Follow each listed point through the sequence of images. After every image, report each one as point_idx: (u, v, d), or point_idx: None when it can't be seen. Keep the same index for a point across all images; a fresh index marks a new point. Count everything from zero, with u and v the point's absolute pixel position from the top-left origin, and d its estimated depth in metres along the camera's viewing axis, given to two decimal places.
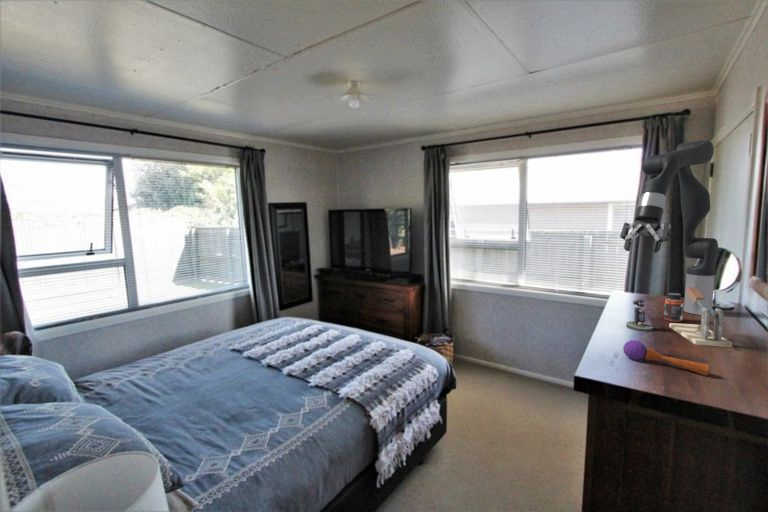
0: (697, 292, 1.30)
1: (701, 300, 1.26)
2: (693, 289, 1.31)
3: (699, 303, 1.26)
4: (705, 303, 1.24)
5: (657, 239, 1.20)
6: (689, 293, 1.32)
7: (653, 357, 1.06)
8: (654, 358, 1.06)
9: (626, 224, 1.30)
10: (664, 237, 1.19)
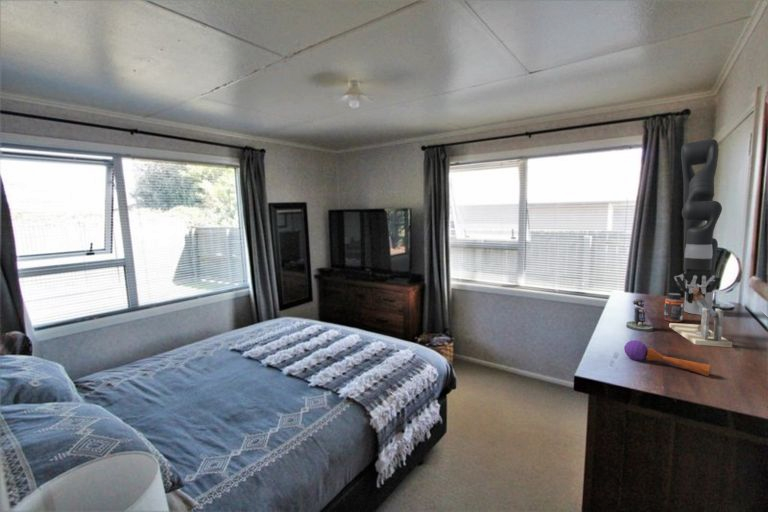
0: (697, 292, 1.30)
1: (701, 300, 1.26)
2: (693, 289, 1.31)
3: (699, 303, 1.26)
4: (705, 303, 1.24)
5: (704, 292, 1.28)
6: None
7: (654, 358, 1.05)
8: (655, 358, 1.05)
9: (679, 278, 1.30)
10: (710, 290, 1.28)
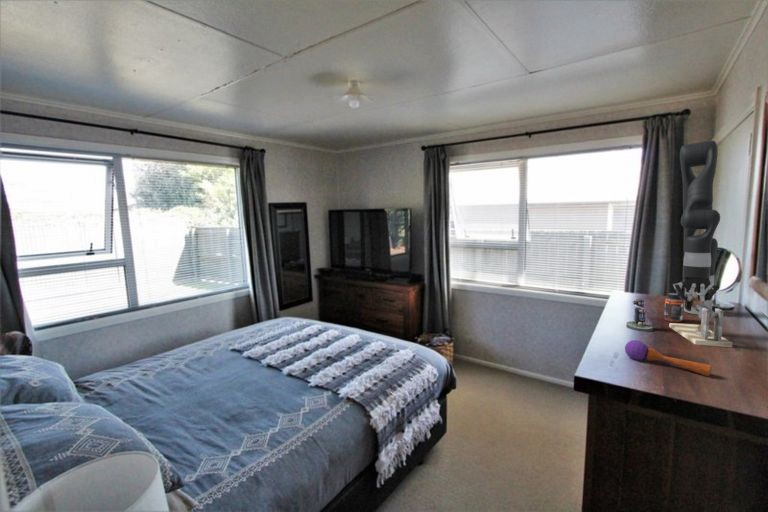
0: (695, 299, 1.31)
1: (700, 304, 1.27)
2: None
3: (698, 307, 1.26)
4: (704, 306, 1.25)
5: (702, 300, 1.29)
6: None
7: (654, 357, 1.06)
8: (655, 358, 1.06)
9: (678, 286, 1.31)
10: (708, 298, 1.28)
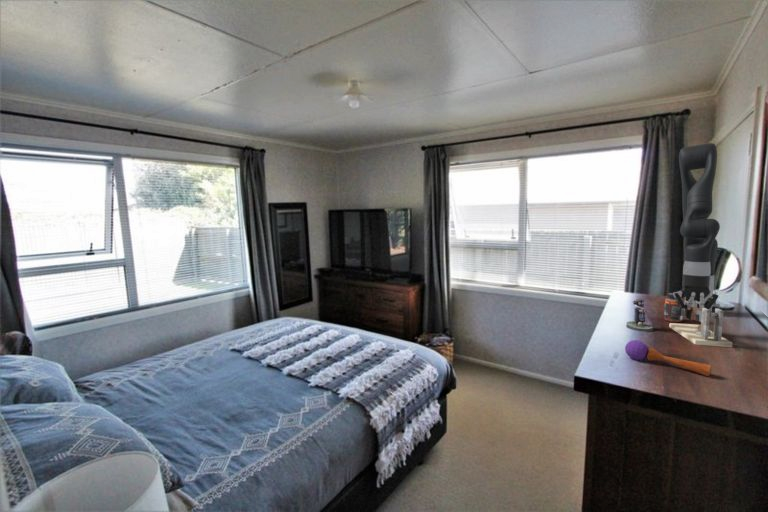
0: None
1: (699, 309, 1.27)
2: None
3: (698, 311, 1.26)
4: None
5: None
6: None
7: (655, 357, 1.05)
8: (656, 358, 1.05)
9: (678, 294, 1.31)
10: (708, 307, 1.29)
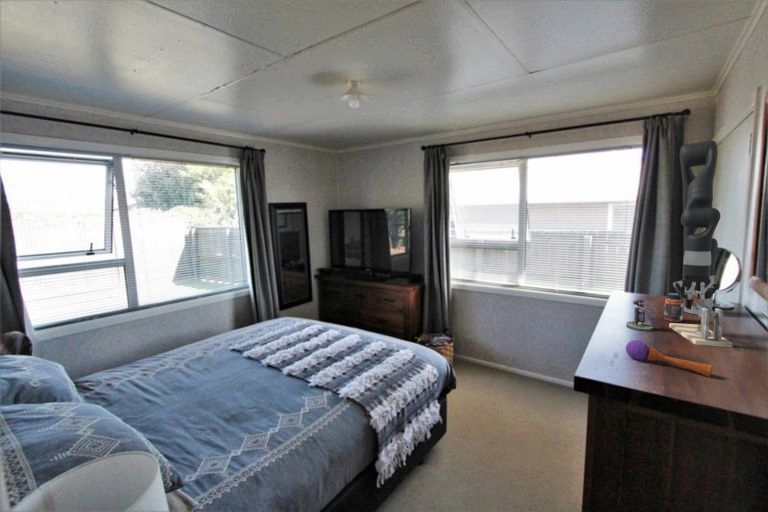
0: (696, 297, 1.31)
1: (700, 303, 1.27)
2: None
3: (698, 306, 1.26)
4: (704, 306, 1.25)
5: (702, 299, 1.29)
6: None
7: (655, 357, 1.05)
8: (656, 358, 1.05)
9: (678, 284, 1.31)
10: (709, 297, 1.28)
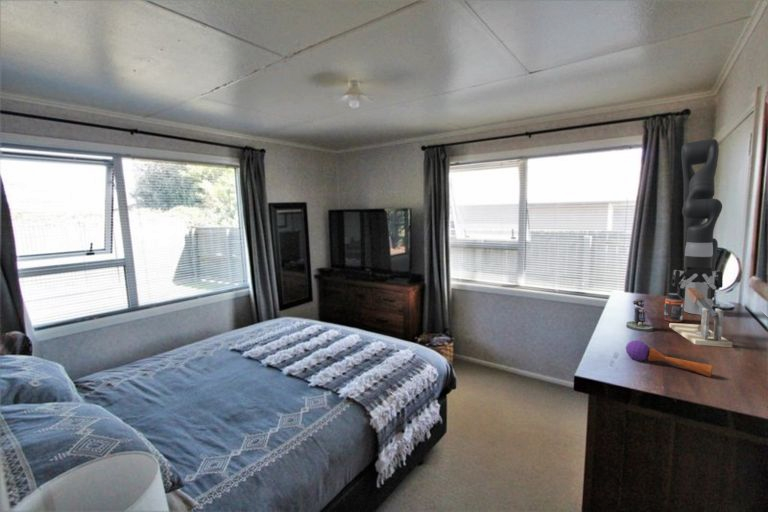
0: (697, 292, 1.30)
1: (701, 300, 1.26)
2: (693, 289, 1.32)
3: (699, 303, 1.26)
4: (705, 303, 1.24)
5: (714, 288, 1.27)
6: (689, 293, 1.32)
7: (656, 358, 1.05)
8: (657, 358, 1.05)
9: (678, 272, 1.30)
10: (720, 286, 1.27)
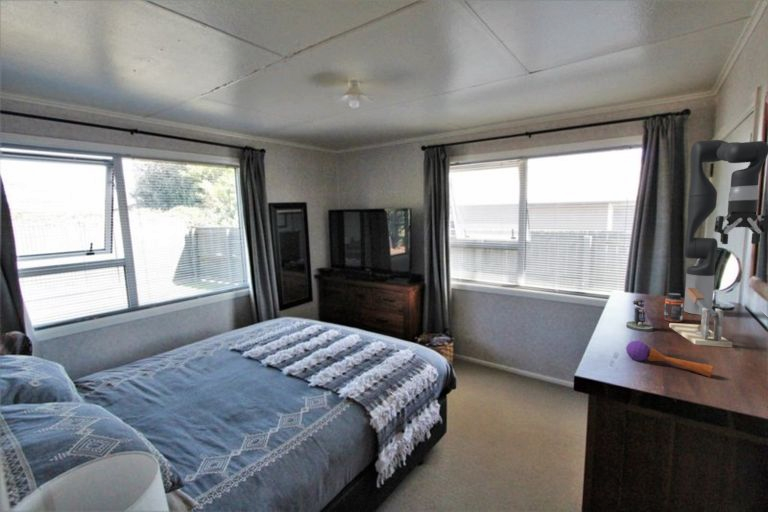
0: (697, 292, 1.30)
1: (701, 300, 1.26)
2: (693, 289, 1.32)
3: (699, 303, 1.26)
4: (705, 303, 1.24)
5: (759, 232, 1.26)
6: (689, 293, 1.32)
7: (656, 358, 1.05)
8: (657, 359, 1.05)
9: (722, 218, 1.29)
10: (766, 230, 1.25)
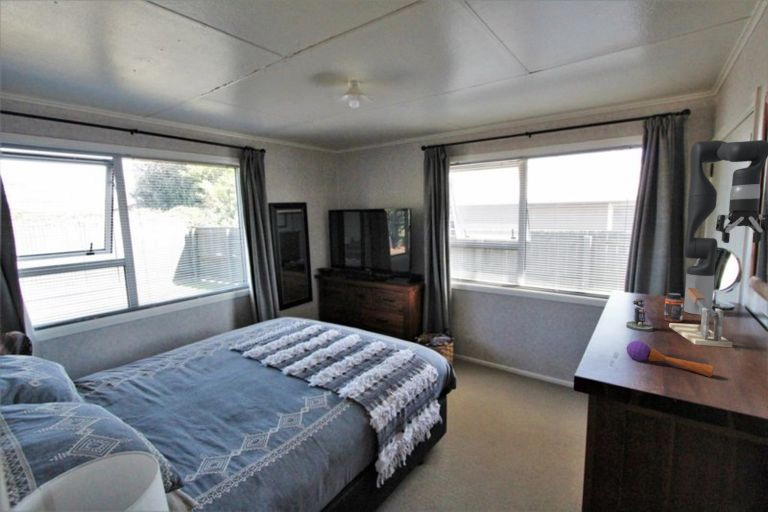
0: (697, 292, 1.30)
1: (701, 300, 1.26)
2: (693, 289, 1.32)
3: (699, 303, 1.26)
4: (705, 303, 1.24)
5: (760, 231, 1.26)
6: (689, 293, 1.32)
7: (656, 358, 1.05)
8: (657, 359, 1.05)
9: (724, 216, 1.29)
10: (767, 228, 1.25)
